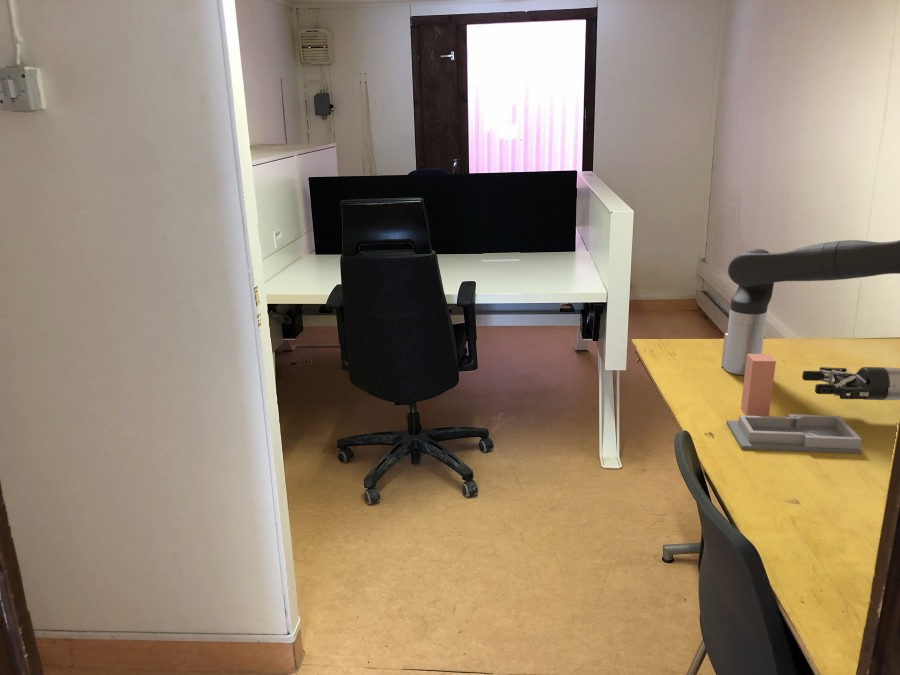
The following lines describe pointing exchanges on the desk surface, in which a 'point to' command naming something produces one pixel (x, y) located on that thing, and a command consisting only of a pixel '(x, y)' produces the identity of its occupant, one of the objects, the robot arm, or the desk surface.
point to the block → (758, 384)
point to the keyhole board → (795, 433)
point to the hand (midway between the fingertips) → (809, 382)
